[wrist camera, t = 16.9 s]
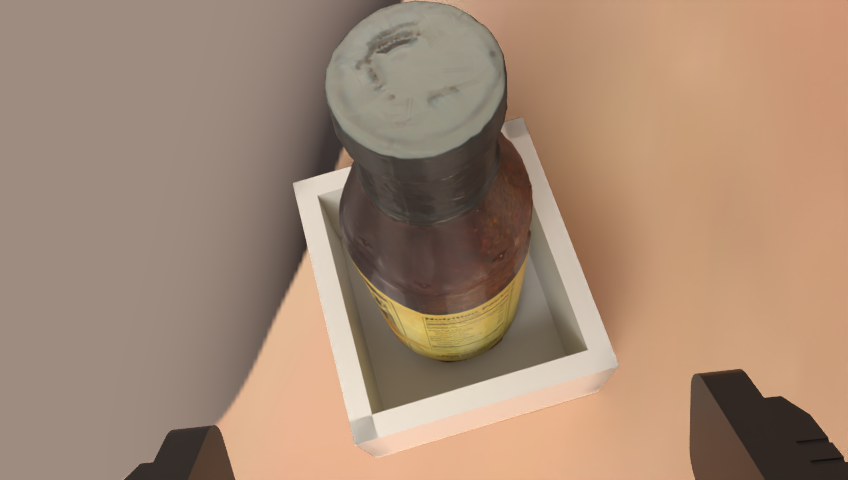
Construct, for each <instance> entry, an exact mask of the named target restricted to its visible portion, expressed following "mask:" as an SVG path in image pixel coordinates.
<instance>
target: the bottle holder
mask: <svg viewBox="0 0 848 480" xmlns="http://www.w3.org/2000/svg"><path fill="white" fill-rule="evenodd" d="M501 132H502V133H503V135H504V136H505V137H506V139H508V140H509V141H511V142H512V144H513V145H514V147H515V148H516V150H517V151H518V153H519V154H520V155H521V158H522V159H523V163H524V164H525V167H526V170H527V173H528V175H529V180H530V183H531V185H532V199H533V208H532V209H533V210H532V220H531V223H530V229H529V230H530V231H531V240H530V246H529V252H528V257H527V262H526V268H525V273H524V278H523V284H522V289H521V293H520V299H519V304H518V309H517V312H516V315H515V318H514V320H513V322H512V324H511V326H510V328H509V329H508V331H507V332H506V333H505V335H504V336H503V339H502V340H501V342H499V343H498V344H497V345H496V346H494V347H493V348H492V349H489V350H487V351H485V352H484V353H482V354H480V355H478V356H476V357H474V358H471V359H467V360H462V361H456V362H448V363H446V362H441V361H438V360H435V359H432V358H428V357H425V356H422V355H420V354H418V353H416V352H414V351H412V350H411V349H410V348H408V347H407V346H406V345H405V344H403V343H402V342H401V341H400V340H399V339H398V338H397V336H396V335H395V334H394V333H393V331H392V330H391V328H390V327H389V325H388V323H387V321H386V320H385V318H384V316H383V314H382V312H381V311H380V309H379V307H378V305H377V304H376V302H375V301H374V299H373V297H372V294H371V293H370V291H369V289H368V287H367V285H366V283H365V282H364V280H363V278H362V276H361V275H360V273H359V271H358V270H357V268H356V266H355V264H354V263H353V261H352V259H351V257H350V255H349V253H348V251H347V249H346V246H345V243H344V241H343V237H342V234H341V229H340V223H339V205H340V199H341V195H342V192H343V188H344V185H345V183H346V180H347V178H348V175H349V172H350V170H351V167H352V166H350V167H347V168H344V169H340V170H337V171H333V172H330V173H326V174H323V175H319V176H316V177H312V178H309V179H306V180H302V181H299V182H295V183H293V186H294V190H295V195H296V199H297V203H298V207H299V212H300V216H301V220H302V224H303V228H304V233H305V237H306V241H307V245H308V250H309V254H310V258H311V262H312V266H313V271H314V275H315V279H316V283H317V288H318V292H319V296H320V300H321V304H322V309H323V313H324V317H325V321H326V326H327V330H328V334H329V338H330V342H331V347H332V351H333V355H334V359H335V364H336V368H337V372H338V376H339V380H340V385H341V389H342V393H343V397H344V402H345V406H346V410H347V414H348V418H349V423H350V427H351V431H352V435H353V440H354V444H355V445H356V446H357V447H359V448H361V449H362V450H364V451H366V452H367V453H369V454H371V455H372V456H374V457H376V458H380V457H383V456H387V455H390V454H393V453H397V452H400V451H403V450H407V449H410V448H413V447H417V446H420V445H423V444H427V443H430V442H433V441H437V440H440V439H443V438H447V437H450V436H453V435H457V434H460V433H463V432H467V431H470V430H473V429H477V428H480V427H483V426H487V425H490V424H493V423H497V422H500V421H503V420H507V419H510V418H513V417H517V416H520V415H523V414H527V413H530V412H533V411H537V410H540V409H543V408H546V407H550V406H553V405H556V404H560V403H563V402H566V401H570V400H573V399H576V398H580V397H583V396H586V395H590V394H593V393H596V392H598V391H599V389H600V388H601V387H602V386H603V385H604V383H605V382H606V381H607V380H608V379H609V377H610V376H611V375H612V374H613V373H614V371H615V370H616V369H617V368H618V367H619V364H618V361H617V359H616V356H615V353H614V351H613V348H612V346H611V343H610V340H609V338H608V335H607V333H606V330H605V328H604V325H603V322H602V320H601V317H600V315H599V312H598V310H597V307H596V304H595V302H594V299H593V297H592V294H591V292H590V289H589V286H588V284H587V281H586V279H585V276H584V273H583V271H582V268H581V266H580V263H579V261H578V258H577V255H576V253H575V250H574V248H573V245H572V243H571V240H570V237H569V235H568V232H567V230H566V227H565V225H564V222H563V219H562V217H561V214H560V212H559V209H558V206H557V204H556V201H555V199H554V196H553V194H552V191H551V188H550V186H549V183H548V181H547V178H546V176H545V173H544V170H543V168H542V165H541V163H540V160H539V158H538V155H537V152H536V150H535V147H534V145H533V142H532V139H531V137H530V134H529V132H528V129H527V127H526V124H525V121H524V119H523V117H520V118H516V119H513V120H509V121H506V122H504V124H503V126H502V129H501Z"/></svg>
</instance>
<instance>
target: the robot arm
mask: <svg viewBox="0 0 848 480" xmlns="http://www.w3.org/2000/svg"><path fill="white" fill-rule="evenodd" d="M690 458H691V464H692V469H693V473H694V477H695V480H848V462H845V461H844V457H843V456H842V454H841V453H840V452H839V451H838V449H837V448H836V447H835V446H834V444H833V443H830V442H829V440H828V437H827V436H826V434H825V433H824V432H823V430H822V429H821V428H820V427H819V425H818V424H817V423H816V422H815V420H814V419H813V418H812V417H811V415H810V414H808V413H806V412H805V411H803V410H802V409H800V408H799V407H797V406H796V405H794V404H792V403H791V402H789V401H788V400H786V399H785V398H783V397H781V396H778V397H769V398H764V397H763V396H762V395H761V393H760V392H759V390H758V389H757V388H756V386H755V385H754V384H753V382H752V381H751V379H750V378H749V377H748V375H747V374H746V373H745V372H744V371H743V370H741V369H735V370H726V371H717V372H708V373H699V374H694V375H693V377H692V381H691V405H690ZM124 480H235V477H234V474H233V471H232V467H231V464H230V460H229V457H228V454H227V450H226V447H225V443H224V440H223V437H222V434H221V432H220V430H219V428H218V427H217V426H215V425H213V426H204V427H195V428H186V429H178V430H171V431H170V432H169V433H168V434H167V436H166V438H165V440H164V442H163V444H162V446H161V448H160V450H159V452H158V454H157V456H156V458H155V460H154V462H152V463H143V464H140V465H139V466H138V467H137V468H136V469H135V470H134V471H133V472H132V473H131V474H130V475H129V476H127V477H126V478H125V479H124Z"/></svg>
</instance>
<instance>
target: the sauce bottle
mask: <svg viewBox="0 0 848 480" xmlns="http://www.w3.org/2000/svg"><path fill="white" fill-rule="evenodd" d="M325 94H326V99H327V103H328V107H329V112H330V114H331V118H332V121H333V125H334V128H335V132H336V135H337V137H338V138H339V140H340V141H341V143H342V144H343V146H344V148H345V149H346V151H347V152H348V154H349V155H350V156H351V157H352V158H353V159H354V162H353V164H352V167H351V170H350V172H349V175H348V178H347V180H346V183H345V185H344V188H343V192H342V195H341V199H340V205H339V223H340V229H341V234H342V237H343V241H344V243H345V246H346V249H347V251H348V253H349V255H350V257H351V259H352V261H353V263H354V264H355V266H356V268H357V270H358V271H359V273H360V275H361V276H362V278H363V280H364V282H365V283H366V285H367V287H368V289H369V291H370V293H371V294H372V297H373V299H374V301H375V302H376V304H377V305H378V307H379V309H380V311H381V312H382V314H383V316H384V318H385V320H386V321H387V323H388V325H389V327H390V328H391V330H392V331H393V333H394V334H395V335H396V336H397V338H398V339H399V340H400V341H401V342H402V343H403V344H405V345H406V346H407V347H408V348H410V349H411V350H412V351H414V352H416V353H418V354H420V355H422V356H425V357H428V358H432V359H435V360H438V361H441V362H446V363H448V362H456V361H462V360H467V359H471V358H474V357H476V356H478V355H480V354H482V353H484V352H485V351H487V350H489V349H492V348H493V347H494V346H496V345H497V344H498V343H499V342H501V340H502V339H503V336H504V335H505V333H506V332H507V331H508V329H509V328H510V326H511V324H512V322H513V320H514V318H515V315H516V312H517V309H518V304H519V299H520V293H521V289H522V284H523V278H524V273H525V268H526V262H527V257H528V252H529V246H530V240H531V231H530V230H529V229H530V223H531V220H532V210H533V209H532V208H533V199H532V185H531V183H530V180H529V175H528V173H527V170H526V167H525V164H524V163H523V159H522V158H521V155H520V154H519V153H518V151H517V150H516V148H515V147H514V145H513V144H512V142H511V141H509V140H508V139H506V137H505V136H504V135H503V133H502V132H501V129H502V126H503V124H504V121H505V114H506V110H507V73H506V67H505V61H504V55H503V53H502V50H501V48H500V46H499V44H498V42H497V40H496V39H495V37H494V36H493V35H492V33H491V32H490V31H489V30H488V29H487V28H486V27H485V26H484V25H483V24H481V23H479V22H478V21H477V20H476V19H474V18H473V17H472V16H471V15H469V14H467V13H465V12H463V11H462V10H460V9H458V8H456V7H454V6H450V5H446V4H442V3H436V2H426V1H410V2H405V3H399V4H394V5H391V6H389V7H386V8H381V9H380V10H378V11H376V12H375V13H373V14H371V15H370V16H368V17H367V18H365V19H364V20H362V21H361V22H359V23H358V24H357V25H356V26H355V27H354V28H353V29H352V30H351V31H349V32H348V33H347V34H346V36H345V37H344V38H343V39H342V41H341V42H340V43H339V45H338V46H337V47H336V49H335V50H334V52H333V55H332V57H331V61H330V63H329V65H328V68H327V70H326V74H325Z"/></svg>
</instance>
